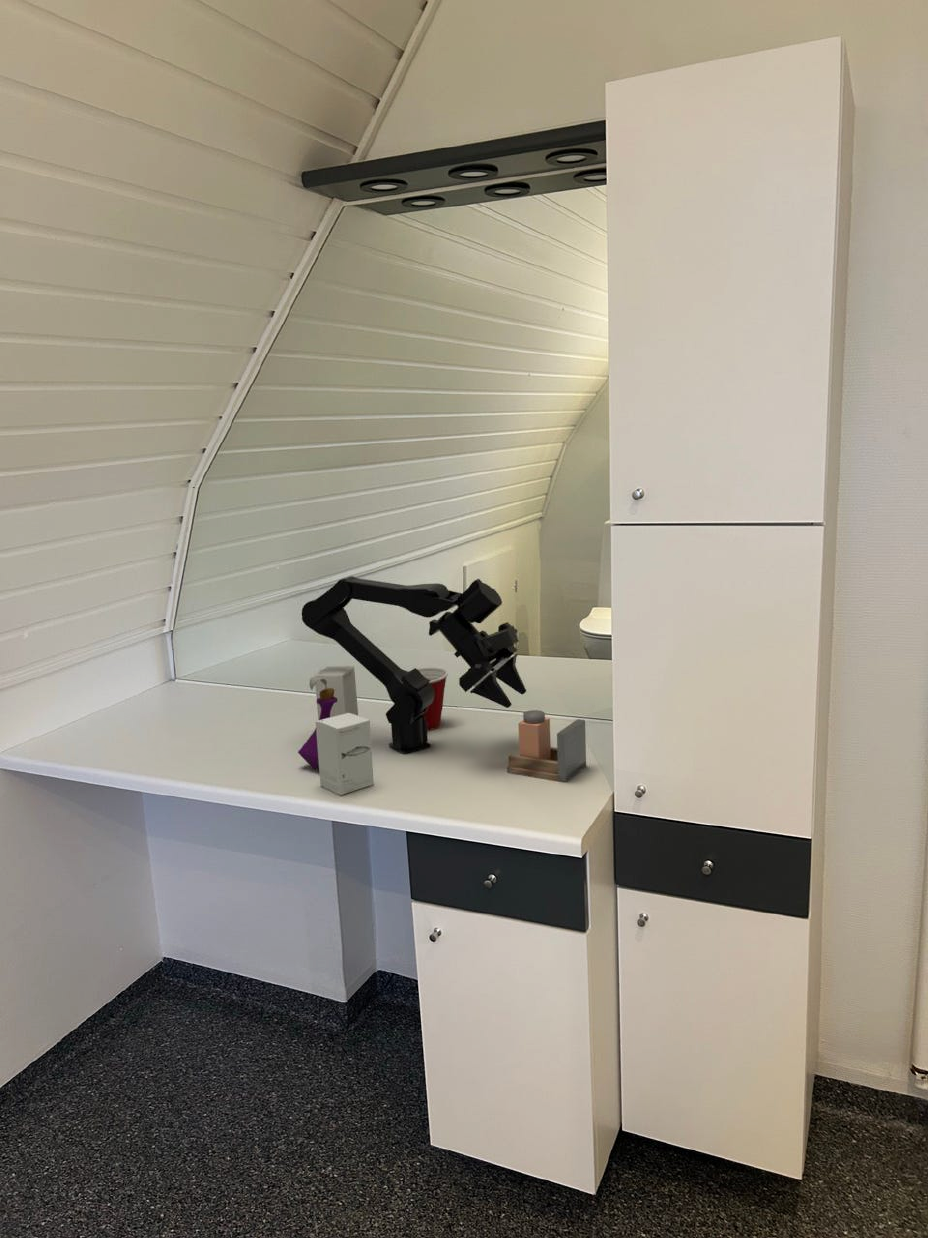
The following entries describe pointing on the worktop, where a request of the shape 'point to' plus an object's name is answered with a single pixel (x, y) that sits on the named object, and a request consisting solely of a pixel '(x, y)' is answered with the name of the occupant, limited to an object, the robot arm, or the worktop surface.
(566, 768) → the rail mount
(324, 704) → the perfume bottle
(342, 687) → the skincare box
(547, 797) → the worktop surface
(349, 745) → the supplement box
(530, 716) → the knob slider
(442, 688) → the plastic cup
